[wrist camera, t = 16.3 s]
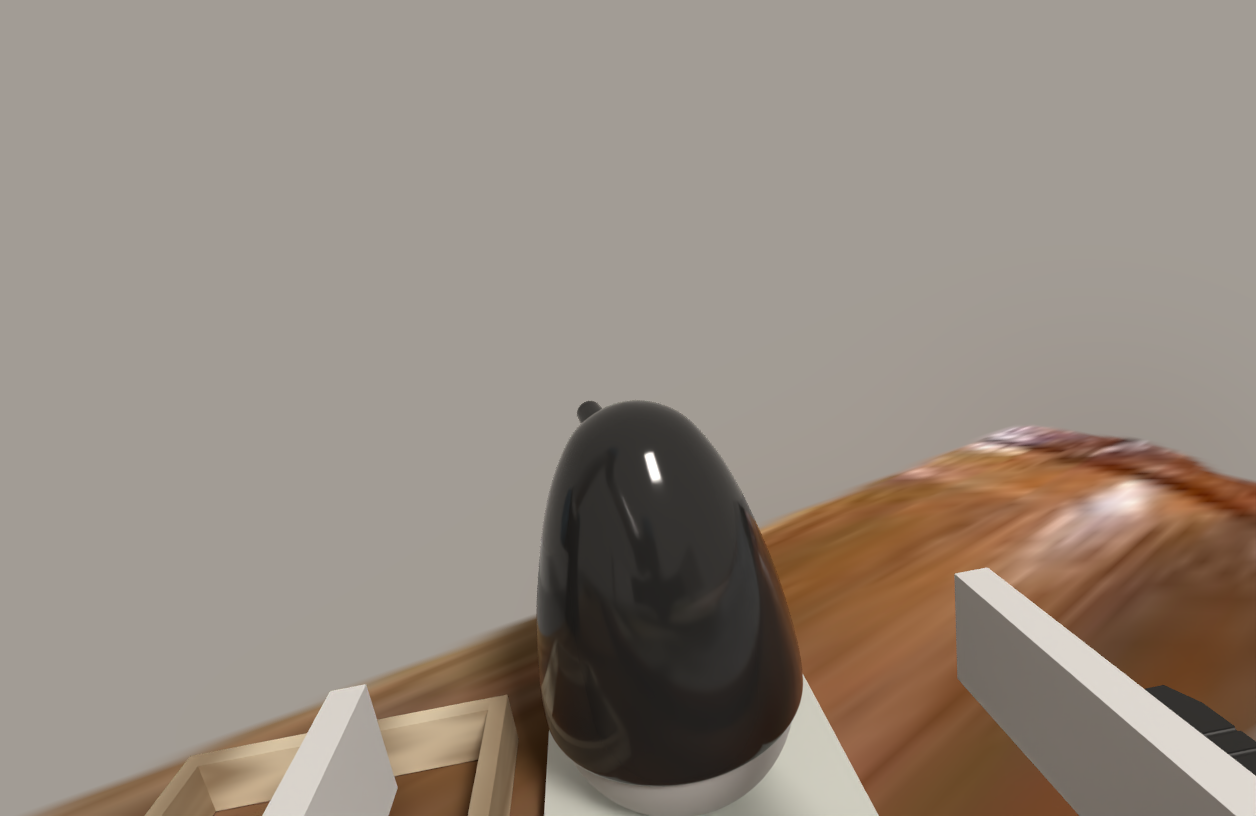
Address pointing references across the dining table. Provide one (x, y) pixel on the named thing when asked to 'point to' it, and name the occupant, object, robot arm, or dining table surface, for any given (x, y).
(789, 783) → the ceramic tile
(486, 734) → the square picture frame
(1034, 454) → the dining table surface
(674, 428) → the black tall egg-shaped piece
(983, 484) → the dining table surface
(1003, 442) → the dining table surface
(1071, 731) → the robot arm
